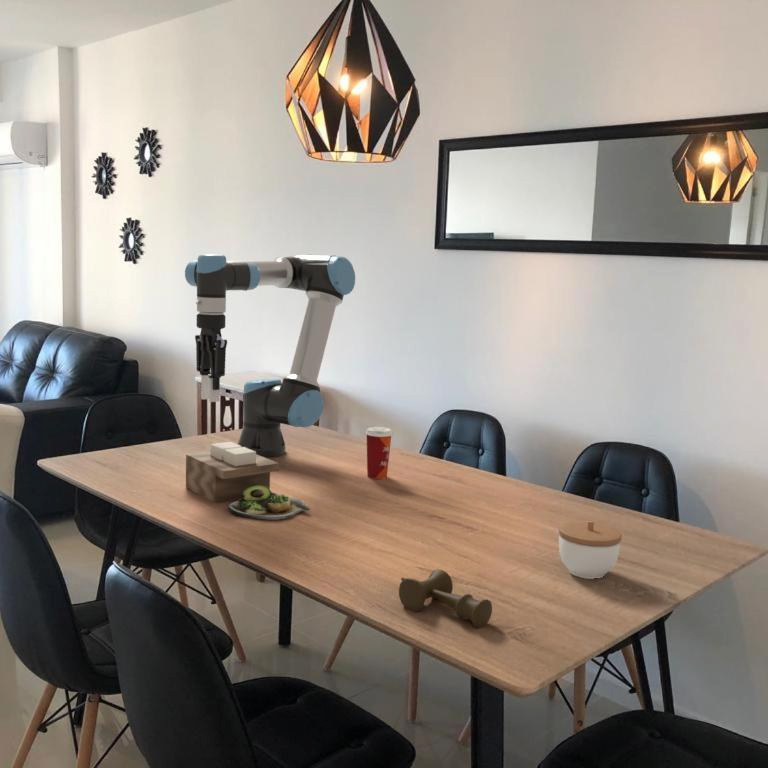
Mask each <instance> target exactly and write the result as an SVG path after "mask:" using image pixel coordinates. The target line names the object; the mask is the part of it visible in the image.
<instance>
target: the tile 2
mask: <svg viewBox="0 0 768 768" xmlns="http://www.w3.org/2000/svg"><path fill="white" fill-rule="evenodd" d="M224 461H225V462H227V463H229V464H232V465H234V466H239V465H246V464H253V463H256V452H255V451H253V450H250V449H248V448H245V447H240V448H232V449H225V450H224Z"/></svg>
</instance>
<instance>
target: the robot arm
mask: <svg viewBox="0 0 768 768" xmlns="http://www.w3.org/2000/svg"><path fill="white" fill-rule="evenodd" d="M184 277H185V281H186V282H187V284H188V285H190V286H192V287H195V288H196V301H195V304H196V312H198V313H197V314H196V327H197V328H198V329H200V334H196V335H195V337H194V339H195V345H196V347H195V349H196V350H195V351H196V352H195V353H196V354H195V355H196V361H195V362H196V372H199V375H200V379H201V380H200V399H201V400H208V402H209V403H217V402H220V390H221V389H220V386H221V384H220V382H221V381H220V380H221V378H222V377H225V375H226V353H227V352H226V351H227V349H226V348H227V345H228V340H227V339H223V338H222V333H221V332H222V331H221V330H222V329H225V328H226V315H225V314H224V313H226V312H227V311H226V309H227V305H226V304H227V299H226V298H227V297H226V296H227V295H226V294H227V291H245V292H246V291H252V290H255V289H256V288H257V287H259V286H261V287H262V286H275V287H276V288H279V289H292V290H298V291H303V292H305V295H306V296H307V298H308V301H307V306H306V309H305V310H306V311H305V313H304V317H303V322H302V324H301V325H302V326H301V329H300V333H299V336H298V340H297V344H296V348H295V352H294V356H293V360H292V364H291V367H290V370H289V374H287V375H285V376H284V377H283V378H282V380H281V379H280V378H264V379H263V378H262V379H261V378H260V379H253V380H247V381H246V382H245V384H244V386H243V393H242V400H243V401H242V405H243V407H242V414H243V415H242V429H241V433H240V436H239V437H238V441H237V444H238V445H240V446H242V447H245V448H248V449H250V450H253V451H255V452H256V454H257V455H259V456H262V457H264V458H271V457H277V456H282V455H283V454H285V453H286V442H285V439H284V436H283V431H282V428H281V424H283V425H288V426H292V427H294V428H310V427H311V426H313V425H314V424H315V423H317V422H318V421H319V419H320V418H321V416H322V415H323V411H324V406H325V402H324V397H323V395H322V393H321V392H320V390H321V386H320V384H319V382H318V377H319V374H320V370H321V367H322V363H323V358H324V355H325V350H326V346H327V343H328V339H329V334H330V330H331V326H332V322H333V319H334V315H335V311H336V307H338V306H340V305H341V304H342V303H343V299H344V296H347V295H349V294H351V292H353V290H354V288H355V285H356V272H355V270H354V266H353V264H352V262H351V261H350V260H349V259H348V258H347V257H345V256H340V255H335V254H332V255H329V254H328V255H327V254H299V255H298V254H297V255H292V256H279V257H276V258H274V259H273V260H267V259H266V260H227V257H226V255H225V254H206V253H205V254H204V253H203V254H200V255H198V257H197V259H195V260H191V261H190V262H188V263H187V265H186V266H185V269H184Z"/></svg>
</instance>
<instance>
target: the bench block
mask: <svg viewBox="0 0 768 768" xmlns="http://www.w3.org/2000/svg"><path fill="white" fill-rule="evenodd" d="M279 464H280V463H279V462H277V461H273V460H272V459H269V458H268V457H262V456H259V455H257V454H256V463H253V464H246V465H239V466H234V465H232V464H229V463H227V462H225V461H224V460H220V459H218V458H215V457H213V456H211V455H210V450H209V451H202V452H201V451H200V452H195V453H194V452H193V453H186V454H185V488H186V487H187V488H186V489H188V488H189V489H188V490H190V491H191V492H194V493H196V494H198V495H199V496H201V495H202V497H203V496H204V497H203V498H205V497H206V499H207V498H208V499H207V500H209V499H210V500H209V501H211V500H212V501H211V502H213V503H215V502H216V503H221V501H222V502H227V501H232V500H240V499H241V498H243V496H242V494H243V491H245V490H246V489H247V488H249V487H251V486H255V485H262V486H266V487H268V488H269V489H270V490H271V486H270V484H271V473H272V472H273V473H274V472H279V467H280V466H279Z"/></svg>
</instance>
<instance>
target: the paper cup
mask: <svg viewBox="0 0 768 768" xmlns="http://www.w3.org/2000/svg"><path fill="white" fill-rule="evenodd" d="M365 435H366V465H367V466H366V467H367V468H366V471H367V478H369V477H370V478H369V479H371V478H373V479H372V480H384V479H383V478H385V479H387V478H386V477H388V473H389V471H388V470H389V462H390V461H389V460H390V452H391V450H390V449H391V440H392V435H393V432H392V430H391V428H389V427H383V426H371V427H368V428H367V429H366V431H365Z"/></svg>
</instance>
